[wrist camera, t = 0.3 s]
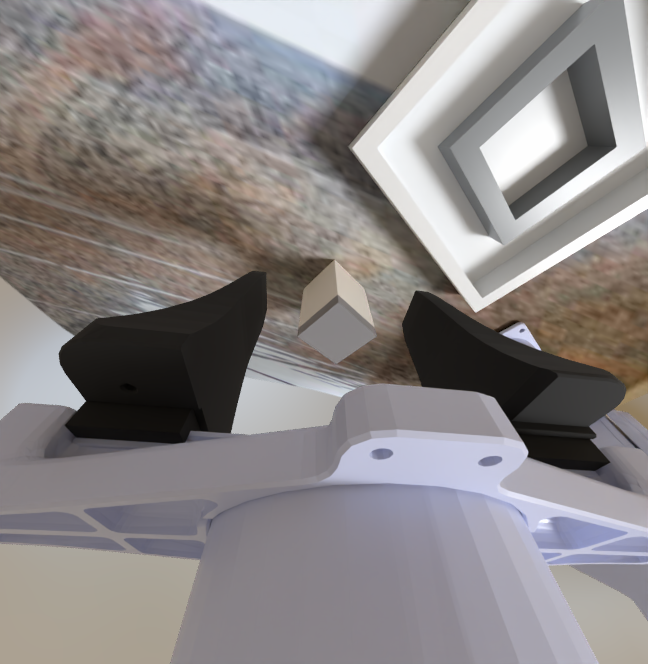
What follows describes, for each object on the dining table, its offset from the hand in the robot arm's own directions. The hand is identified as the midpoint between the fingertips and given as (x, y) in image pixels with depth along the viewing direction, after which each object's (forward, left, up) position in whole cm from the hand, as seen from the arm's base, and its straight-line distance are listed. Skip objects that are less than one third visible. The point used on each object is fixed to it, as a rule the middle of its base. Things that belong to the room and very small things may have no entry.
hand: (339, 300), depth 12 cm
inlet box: (-5, -13, -10) cm, 17 cm away
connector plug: (-4, +3, -10) cm, 11 cm away
